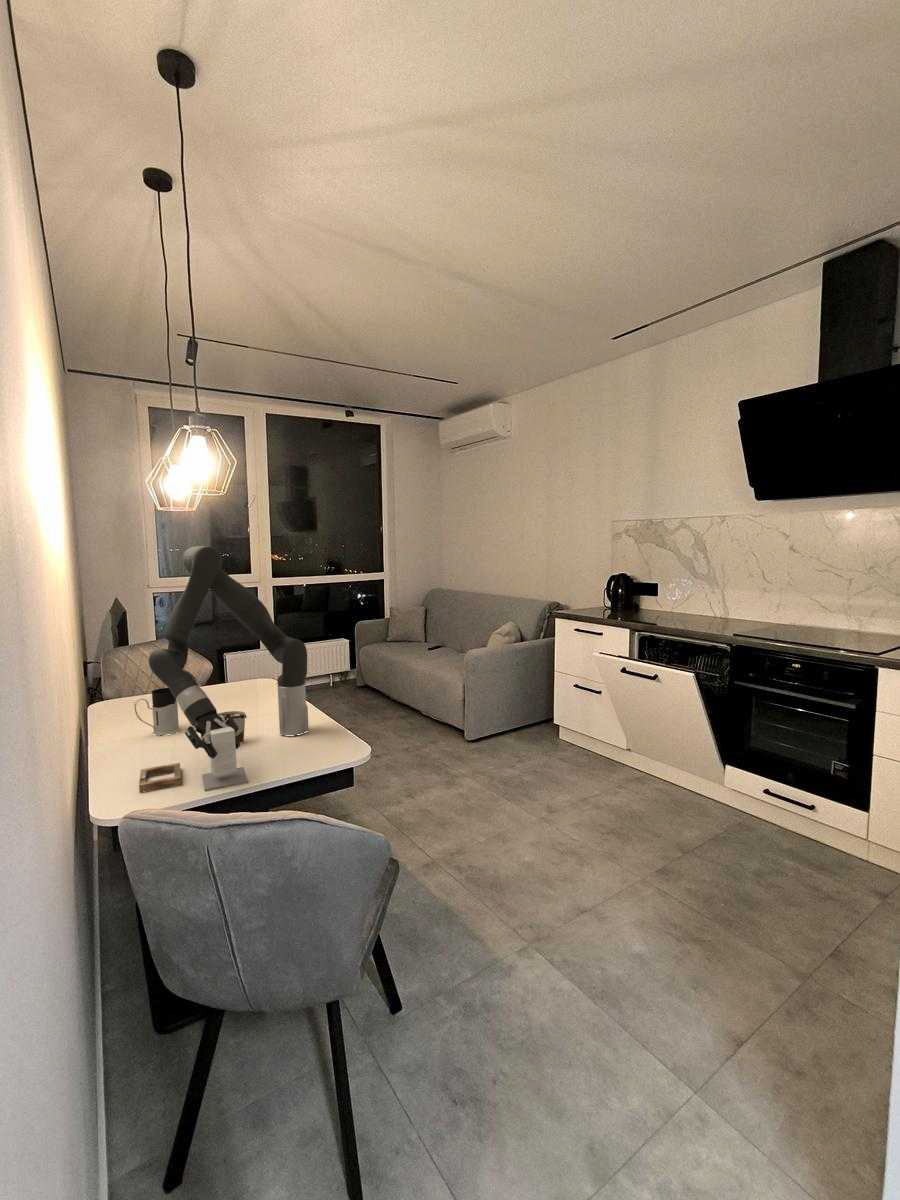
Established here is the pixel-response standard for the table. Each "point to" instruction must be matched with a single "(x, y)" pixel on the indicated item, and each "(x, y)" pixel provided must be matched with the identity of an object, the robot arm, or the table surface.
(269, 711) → the table surface
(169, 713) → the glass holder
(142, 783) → the walnut holder
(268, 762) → the table surface
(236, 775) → the rubber pad
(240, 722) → the food container
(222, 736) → the skincare box
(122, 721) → the table surface
